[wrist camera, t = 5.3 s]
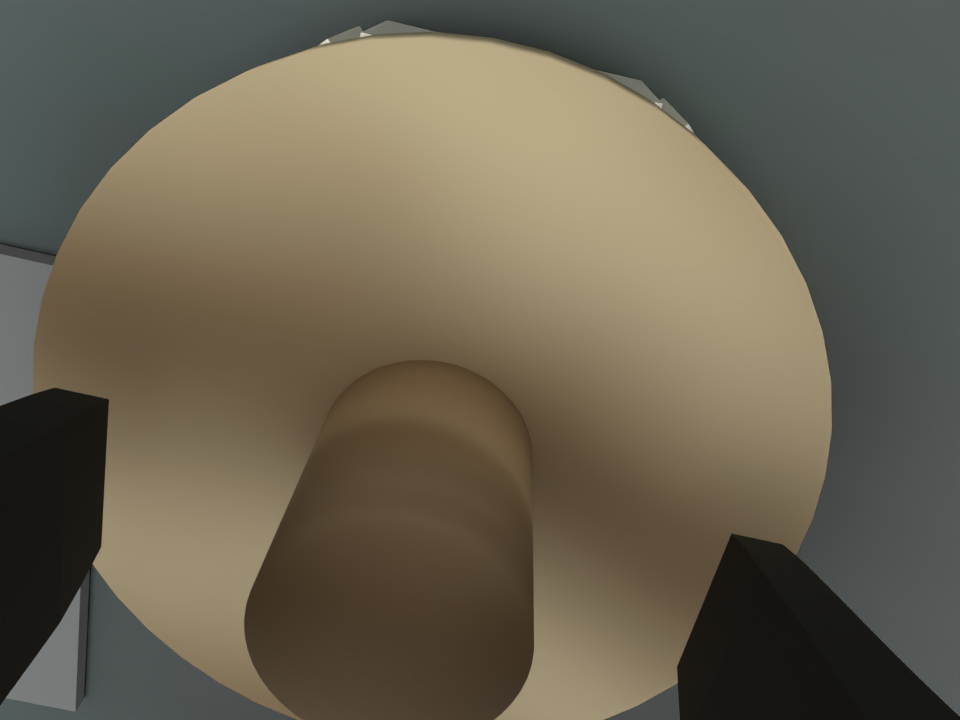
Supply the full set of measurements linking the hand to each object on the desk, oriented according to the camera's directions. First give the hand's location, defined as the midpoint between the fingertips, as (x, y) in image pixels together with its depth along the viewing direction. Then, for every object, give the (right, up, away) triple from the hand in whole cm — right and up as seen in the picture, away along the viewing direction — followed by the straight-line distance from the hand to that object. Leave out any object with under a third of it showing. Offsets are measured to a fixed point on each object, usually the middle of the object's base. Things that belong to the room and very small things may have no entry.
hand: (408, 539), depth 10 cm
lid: (0, +1, +2) cm, 3 cm away
